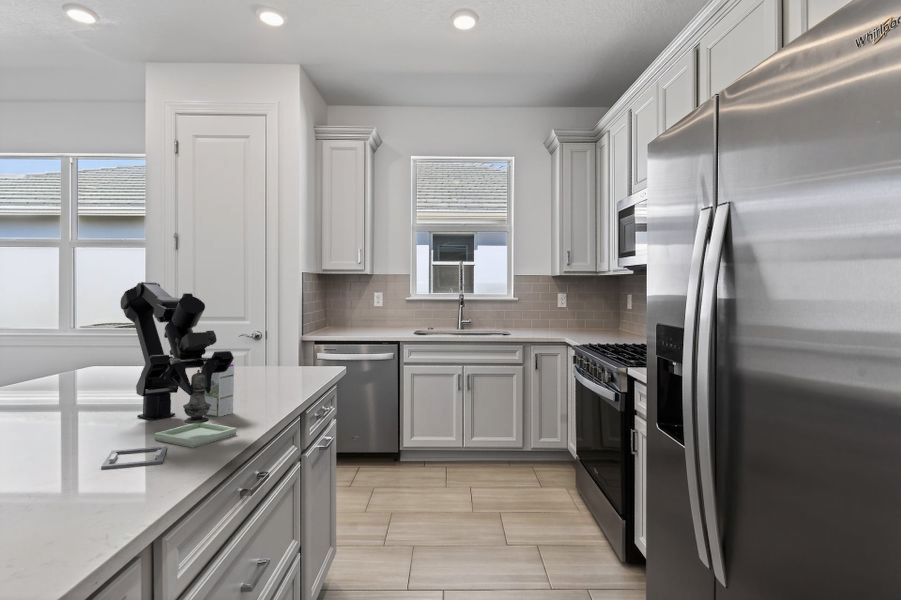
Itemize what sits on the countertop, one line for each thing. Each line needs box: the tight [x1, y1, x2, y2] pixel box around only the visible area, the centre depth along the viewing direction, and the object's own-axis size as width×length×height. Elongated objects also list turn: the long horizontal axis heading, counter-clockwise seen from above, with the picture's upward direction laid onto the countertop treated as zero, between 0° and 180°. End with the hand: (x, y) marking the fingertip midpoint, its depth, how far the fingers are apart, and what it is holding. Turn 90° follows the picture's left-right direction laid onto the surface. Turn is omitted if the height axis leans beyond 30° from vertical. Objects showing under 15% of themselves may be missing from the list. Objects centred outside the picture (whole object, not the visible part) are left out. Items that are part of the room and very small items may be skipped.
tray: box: [154, 422, 237, 448], centre depth 116 cm, size 12×12×2 cm
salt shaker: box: [182, 368, 211, 424], centre depth 116 cm, size 6×6×12 cm
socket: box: [100, 445, 168, 470], centre depth 101 cm, size 10×10×1 cm
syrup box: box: [205, 361, 235, 418], centre depth 138 cm, size 6×6×14 cm
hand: (200, 393), depth 115 cm, fingers closed on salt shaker, 4 cm apart
